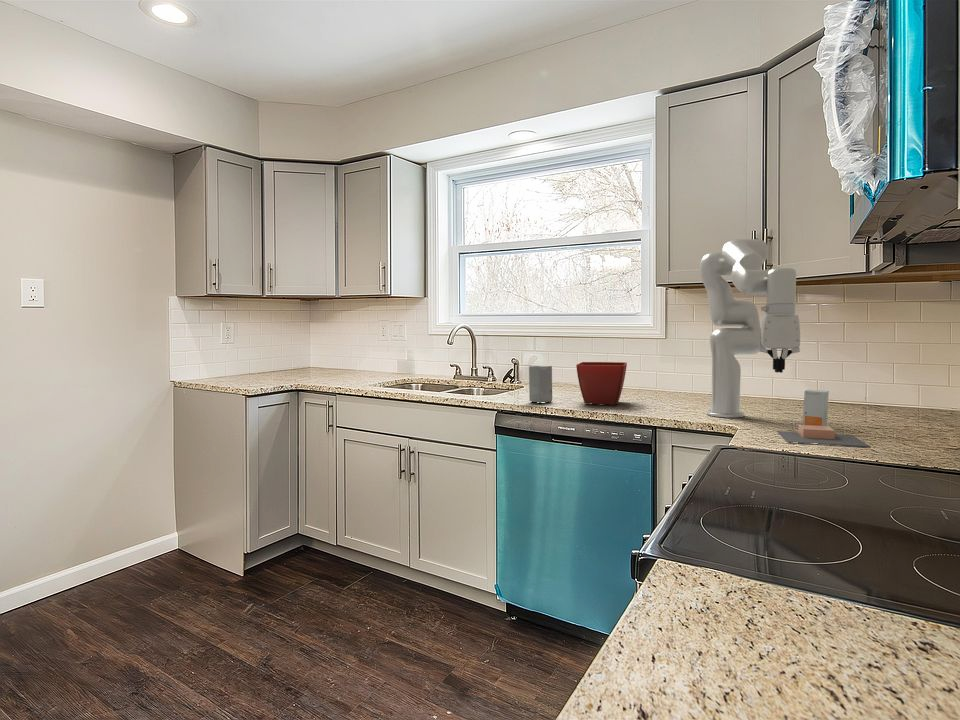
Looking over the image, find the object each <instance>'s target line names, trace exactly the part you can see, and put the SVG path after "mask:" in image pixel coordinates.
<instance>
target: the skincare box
mask: <svg viewBox="0 0 960 720" xmlns="http://www.w3.org/2000/svg"><path fill="white" fill-rule="evenodd" d="M829 393H830V392H829V390H820V389H805V390H804V393H803V395H804V397H803V414H802V425H813V426H828V413H829V412H828V410H829V409H828V408H829Z"/></svg>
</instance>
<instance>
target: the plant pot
mask: <svg viewBox="0 0 960 720" xmlns="http://www.w3.org/2000/svg"><path fill="white" fill-rule="evenodd" d="M627 365H628V362H620V361H618V362H617V361H615V362H614V361H582V362H579V363H578V364H576V366H575V367H576V373H577V374H576V375H577V380H578V385H579V389H580V393H581V396H582V400H583V402H584V404H585V403H592V404H591V405H593V404H612V405H611V406H617V405H618V403H619V401H620V398H621V396H622V391H623V388H624V382H625V380H626V379H625V378H626V373H627V367H628V366H627ZM616 404H617V405H616Z"/></svg>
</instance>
